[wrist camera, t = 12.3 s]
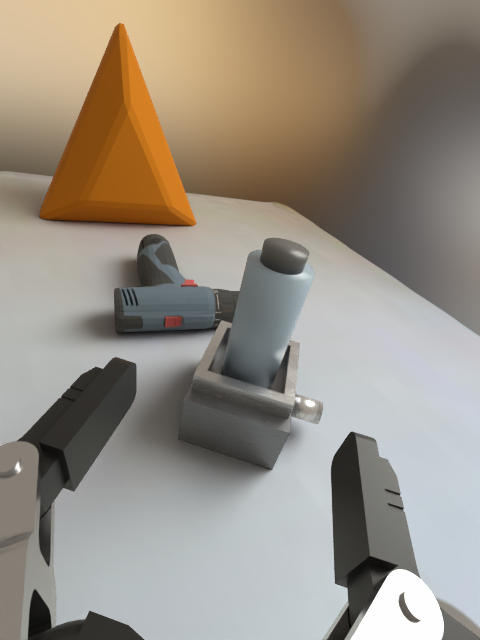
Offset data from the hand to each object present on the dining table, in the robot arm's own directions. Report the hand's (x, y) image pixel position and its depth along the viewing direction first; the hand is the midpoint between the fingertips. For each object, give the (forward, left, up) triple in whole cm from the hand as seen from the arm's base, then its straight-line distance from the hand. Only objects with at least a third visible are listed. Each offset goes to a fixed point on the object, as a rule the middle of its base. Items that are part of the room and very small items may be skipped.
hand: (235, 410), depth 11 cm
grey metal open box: (+2, +12, -14) cm, 18 cm away
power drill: (-12, +29, -15) cm, 34 cm away
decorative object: (-34, +51, -14) cm, 63 cm away
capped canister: (0, +12, -9) cm, 15 cm away
